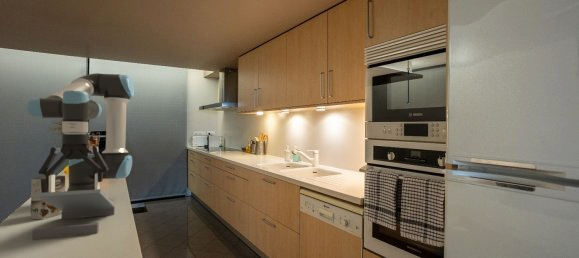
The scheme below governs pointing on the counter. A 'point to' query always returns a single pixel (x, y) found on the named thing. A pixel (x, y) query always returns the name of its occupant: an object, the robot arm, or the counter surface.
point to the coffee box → (39, 206)
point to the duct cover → (77, 199)
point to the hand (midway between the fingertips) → (75, 192)
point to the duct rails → (74, 229)
